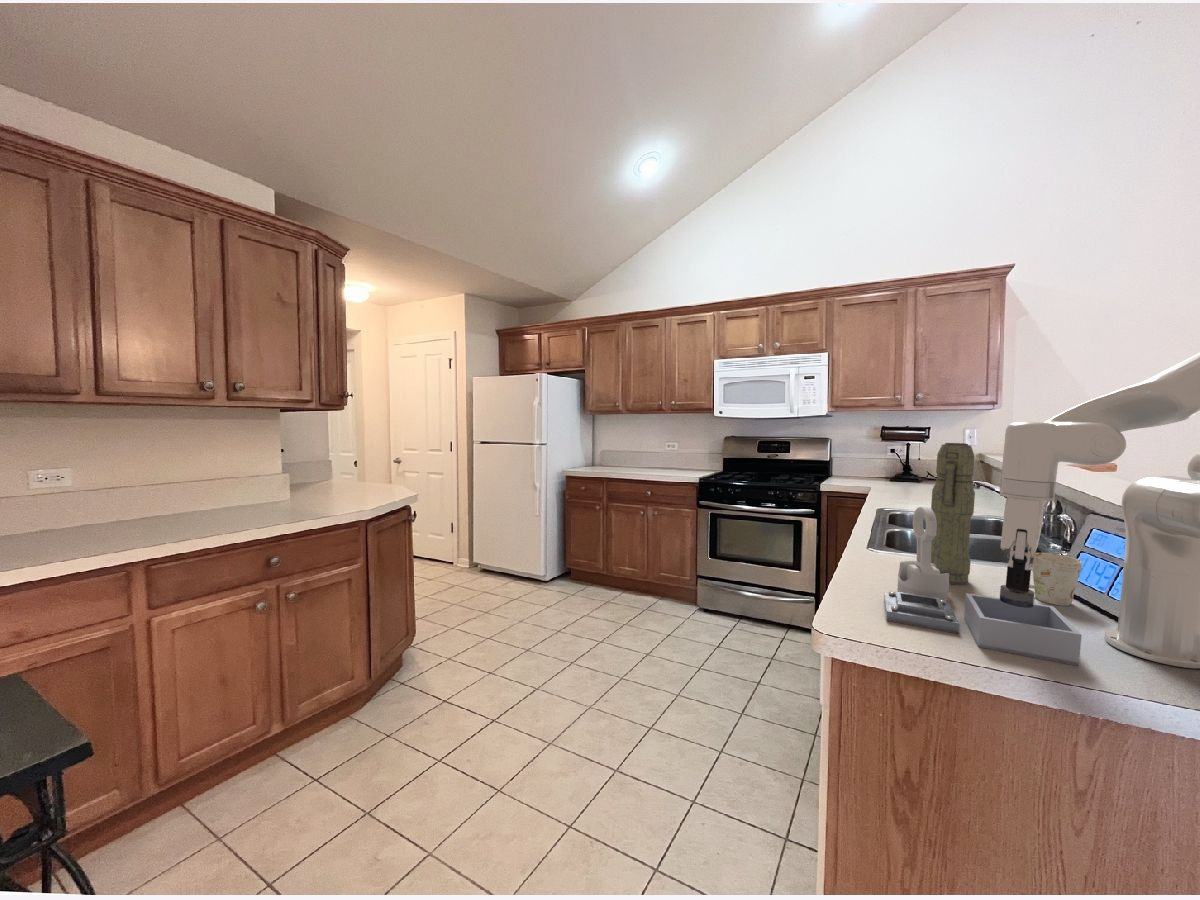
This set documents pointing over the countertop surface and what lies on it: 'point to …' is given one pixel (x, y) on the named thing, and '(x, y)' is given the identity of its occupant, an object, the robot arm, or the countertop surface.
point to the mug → (1055, 578)
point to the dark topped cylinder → (1017, 593)
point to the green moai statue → (953, 511)
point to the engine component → (923, 562)
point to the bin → (1022, 629)
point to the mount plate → (920, 611)
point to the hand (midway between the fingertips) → (1017, 585)
